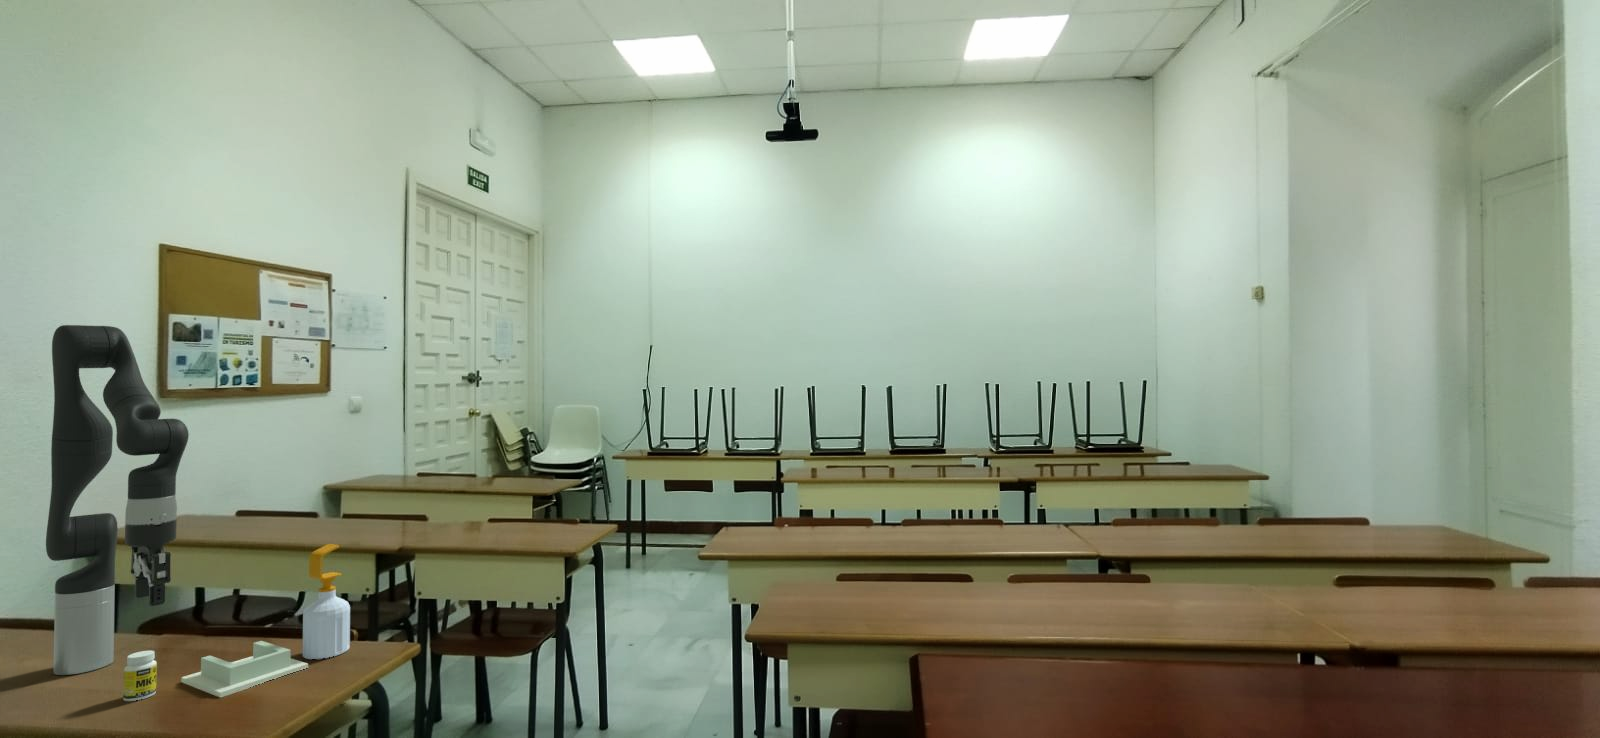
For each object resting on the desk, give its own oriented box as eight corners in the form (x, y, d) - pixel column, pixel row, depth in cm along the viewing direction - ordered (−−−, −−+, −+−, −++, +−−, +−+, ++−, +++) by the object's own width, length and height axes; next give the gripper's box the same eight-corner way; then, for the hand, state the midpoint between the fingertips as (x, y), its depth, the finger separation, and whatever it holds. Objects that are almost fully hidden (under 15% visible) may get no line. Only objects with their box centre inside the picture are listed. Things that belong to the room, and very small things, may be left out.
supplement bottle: (135, 703, 136) (136, 659, 136) (116, 701, 137) (117, 657, 137) (162, 692, 140) (163, 650, 141) (144, 690, 141) (144, 648, 142)
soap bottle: (358, 648, 163) (359, 543, 164) (317, 663, 155) (319, 551, 156) (334, 643, 167) (335, 540, 168) (293, 656, 159) (294, 548, 159)
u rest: (181, 682, 145) (181, 660, 145) (268, 655, 159) (269, 635, 160) (220, 697, 138) (220, 674, 138) (308, 668, 152) (308, 647, 152)
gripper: (115, 518, 140) (113, 599, 140) (137, 526, 132) (135, 612, 132) (164, 512, 146) (162, 589, 146) (188, 520, 139) (186, 602, 138)
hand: (149, 600), depth 139 cm, fingers open, 8 cm apart
